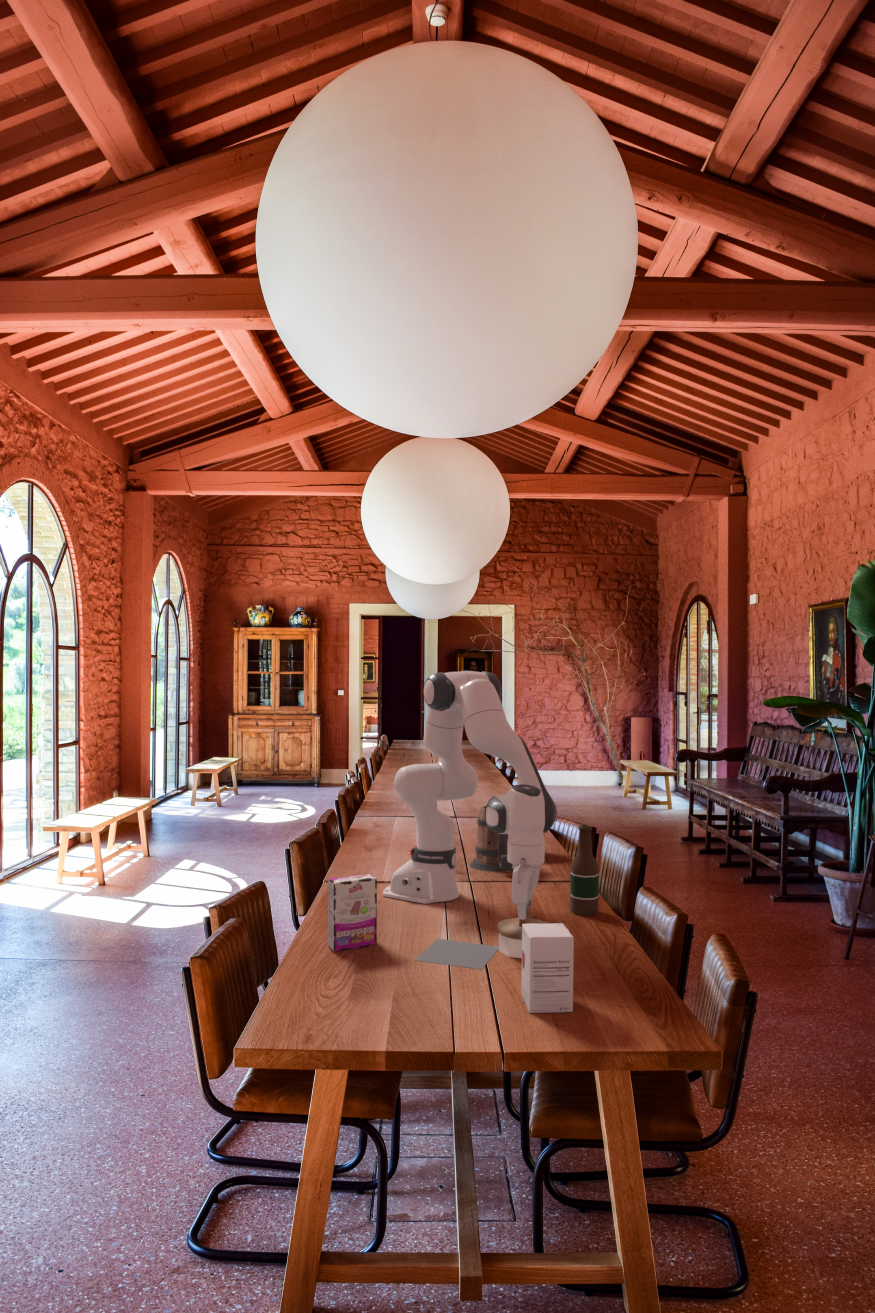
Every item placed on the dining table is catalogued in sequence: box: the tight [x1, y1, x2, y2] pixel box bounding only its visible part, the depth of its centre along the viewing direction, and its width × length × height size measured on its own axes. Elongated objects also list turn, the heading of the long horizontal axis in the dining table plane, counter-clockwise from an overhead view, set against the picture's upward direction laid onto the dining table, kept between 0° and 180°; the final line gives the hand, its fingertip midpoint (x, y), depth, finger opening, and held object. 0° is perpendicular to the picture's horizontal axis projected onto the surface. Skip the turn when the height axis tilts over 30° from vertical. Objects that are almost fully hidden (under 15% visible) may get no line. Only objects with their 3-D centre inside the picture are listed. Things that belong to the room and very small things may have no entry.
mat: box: [414, 938, 499, 970], centre depth 193 cm, size 16×16×1 cm
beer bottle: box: [569, 824, 600, 917], centre depth 229 cm, size 8×8×24 cm
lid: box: [497, 906, 550, 940], centre depth 196 cm, size 13×13×6 cm
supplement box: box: [521, 922, 575, 1014], centre depth 166 cm, size 9×9×15 cm
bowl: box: [498, 932, 522, 960], centre depth 196 cm, size 12×12×5 cm
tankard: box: [469, 805, 514, 873], centre depth 279 cm, size 24×17×20 cm
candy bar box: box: [327, 873, 378, 953], centre depth 199 cm, size 11×5×16 cm, turn 117°
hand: (525, 912), depth 196 cm, fingers open, 8 cm apart
